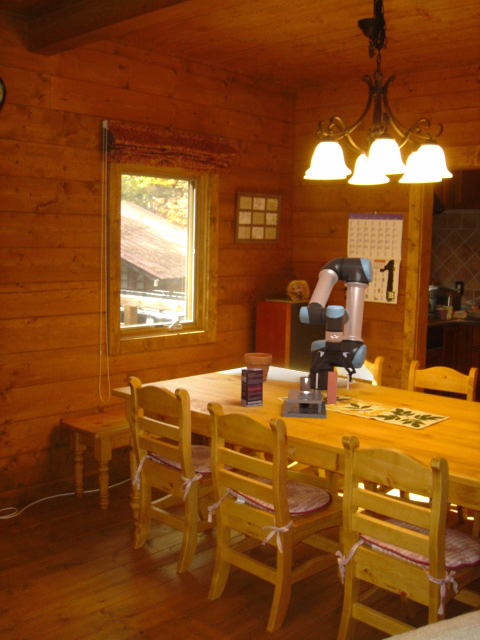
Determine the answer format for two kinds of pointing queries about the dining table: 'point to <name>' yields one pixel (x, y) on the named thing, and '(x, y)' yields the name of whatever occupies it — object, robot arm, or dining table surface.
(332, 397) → the pink rectangular block
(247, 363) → the flower pot
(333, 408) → the dining table surface
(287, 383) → the dining table surface
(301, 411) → the grey stand
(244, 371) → the supplement box
